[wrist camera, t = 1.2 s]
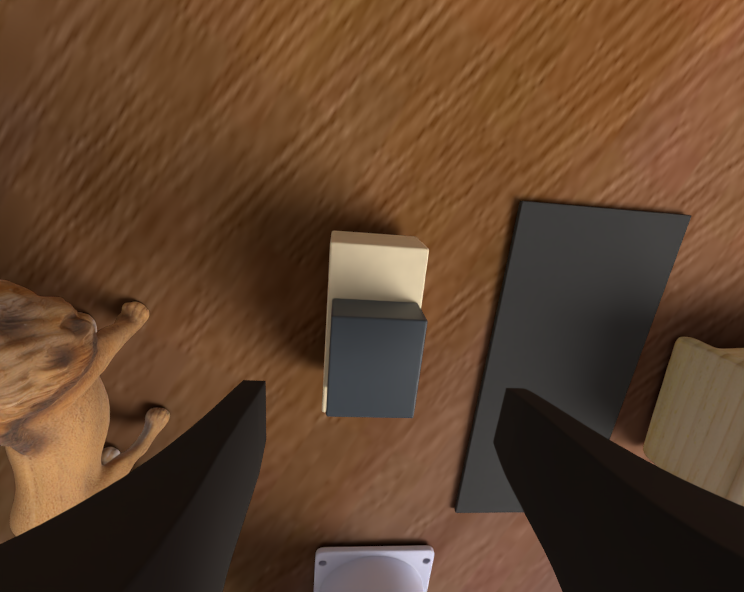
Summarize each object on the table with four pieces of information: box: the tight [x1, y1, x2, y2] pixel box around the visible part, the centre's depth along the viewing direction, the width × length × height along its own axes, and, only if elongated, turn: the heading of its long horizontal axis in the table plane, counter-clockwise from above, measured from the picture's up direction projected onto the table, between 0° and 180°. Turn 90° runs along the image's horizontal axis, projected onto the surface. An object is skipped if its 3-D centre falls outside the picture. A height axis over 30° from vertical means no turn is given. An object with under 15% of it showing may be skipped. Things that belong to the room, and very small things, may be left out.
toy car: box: [322, 231, 429, 418], centre depth 17 cm, size 8×4×5 cm, turn 175°
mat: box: [455, 201, 691, 513], centre depth 21 cm, size 20×9×1 cm, turn 175°
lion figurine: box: [0, 279, 170, 536], centre depth 15 cm, size 15×5×9 cm, turn 5°
